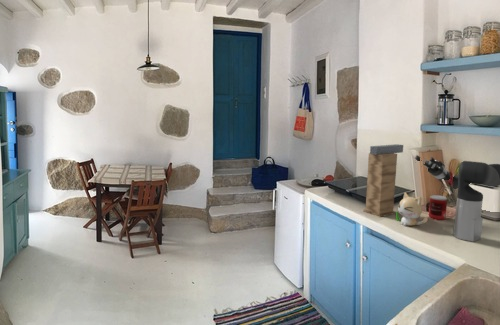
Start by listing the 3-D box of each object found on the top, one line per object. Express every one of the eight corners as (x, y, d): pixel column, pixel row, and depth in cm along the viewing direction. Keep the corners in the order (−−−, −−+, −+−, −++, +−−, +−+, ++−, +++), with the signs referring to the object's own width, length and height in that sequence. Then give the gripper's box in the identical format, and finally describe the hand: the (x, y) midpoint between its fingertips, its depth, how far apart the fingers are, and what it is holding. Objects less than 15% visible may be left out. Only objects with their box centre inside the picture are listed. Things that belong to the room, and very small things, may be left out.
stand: (395, 213, 181) (399, 153, 176) (380, 216, 175) (384, 155, 170) (378, 208, 190) (381, 151, 185) (363, 211, 184) (366, 153, 179)
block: (402, 152, 183) (403, 144, 182) (376, 154, 172) (376, 147, 172) (396, 151, 186) (396, 144, 185) (370, 153, 176) (370, 146, 175)
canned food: (441, 215, 177) (443, 195, 175) (448, 220, 169) (450, 199, 168) (425, 215, 178) (427, 194, 176) (432, 220, 170) (434, 198, 168)
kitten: (388, 220, 169) (390, 191, 167) (404, 218, 172) (407, 190, 170) (410, 230, 155) (413, 199, 153) (428, 228, 158) (431, 197, 156)
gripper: (446, 178, 188) (433, 165, 180) (422, 174, 201) (409, 162, 192) (451, 166, 189) (438, 153, 181) (427, 162, 201) (414, 150, 193)
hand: (423, 157), depth 187 cm, fingers open, 8 cm apart
